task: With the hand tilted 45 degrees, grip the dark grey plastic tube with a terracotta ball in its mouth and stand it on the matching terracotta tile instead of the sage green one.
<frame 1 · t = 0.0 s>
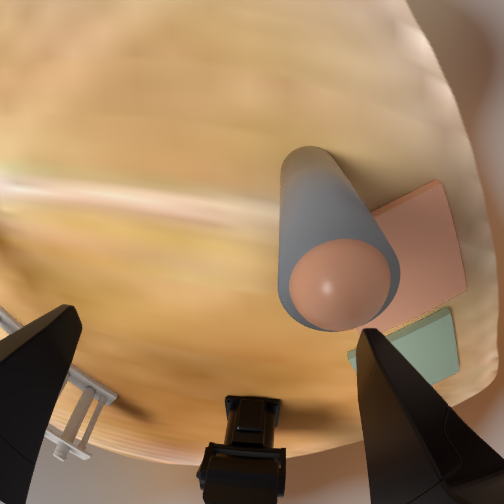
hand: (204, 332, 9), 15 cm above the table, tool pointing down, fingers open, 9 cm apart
terracotta tile: (398, 265, 24), on the table
test tube rack: (44, 349, 36), on the table
tube: (309, 174, 21), on the table
sage tile: (409, 360, 29), on the table
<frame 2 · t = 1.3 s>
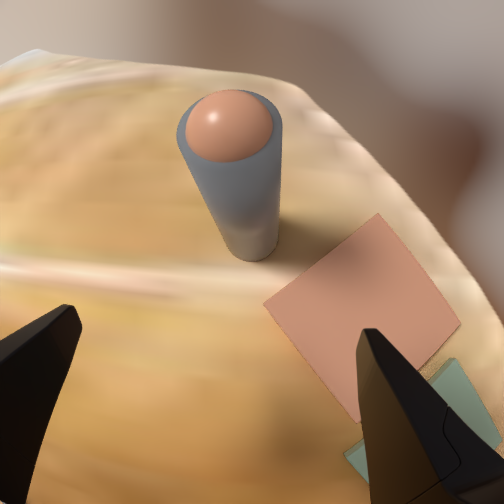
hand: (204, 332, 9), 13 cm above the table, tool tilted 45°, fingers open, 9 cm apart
terracotta tile: (368, 317, 21), on the table
tube: (251, 235, 23), on the table
sage tile: (431, 449, 18), on the table
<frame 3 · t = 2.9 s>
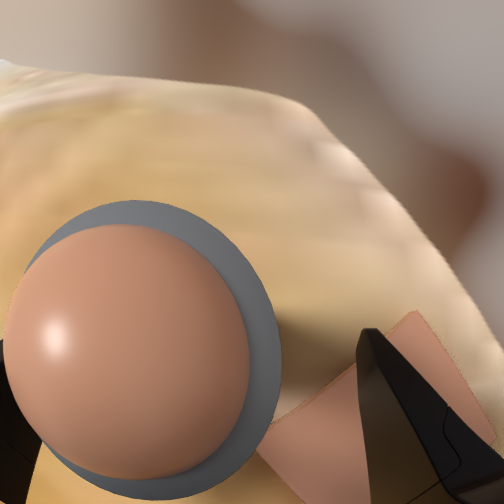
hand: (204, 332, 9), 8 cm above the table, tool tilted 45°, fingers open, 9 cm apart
terracotta tile: (389, 445, 14), on the table
tube: (235, 344, 16), on the table
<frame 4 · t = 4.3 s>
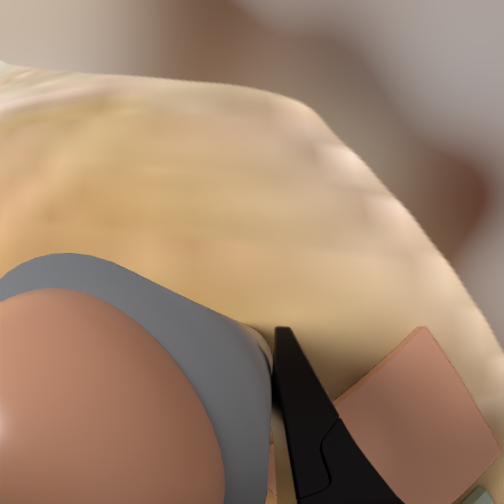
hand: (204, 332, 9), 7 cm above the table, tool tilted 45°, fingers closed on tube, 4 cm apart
terracotta tile: (392, 464, 12), on the table
tube: (232, 362, 15), on the table, touching gripper
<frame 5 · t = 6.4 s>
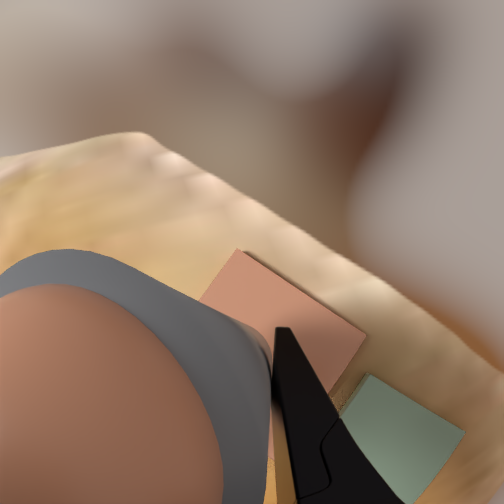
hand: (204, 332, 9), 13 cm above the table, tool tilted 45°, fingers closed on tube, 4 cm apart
terracotta tile: (256, 357, 21), on the table
tube: (231, 361, 15), point 7 cm above the table, touching gripper
sage tile: (377, 462, 18), on the table
when the fingers open (9 cm above the table, at t = 8.3 s): tube drops 1 cm, resting on terracotta tile.
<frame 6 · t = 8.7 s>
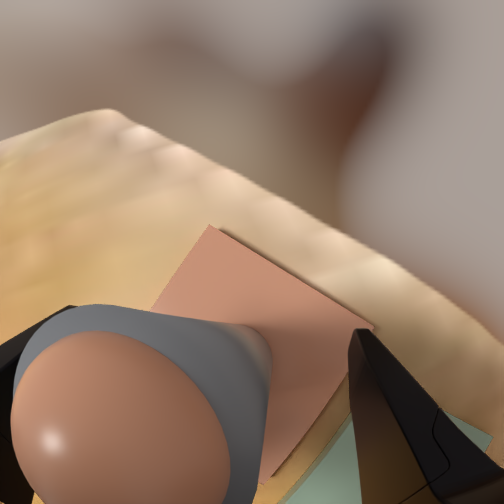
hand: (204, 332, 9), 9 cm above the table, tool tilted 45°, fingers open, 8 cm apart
terracotta tile: (236, 358, 17), on the table
tube: (234, 361, 16), point 1 cm above the table, touching terracotta tile
sage tile: (390, 480, 14), on the table
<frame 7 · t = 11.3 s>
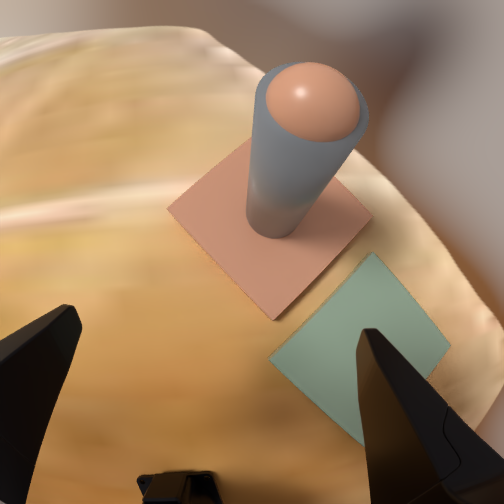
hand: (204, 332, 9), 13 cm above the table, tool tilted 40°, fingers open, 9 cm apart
terracotta tile: (272, 214, 23), on the table
tube: (273, 211, 22), point 1 cm above the table, touching terracotta tile
sage tile: (367, 353, 22), on the table
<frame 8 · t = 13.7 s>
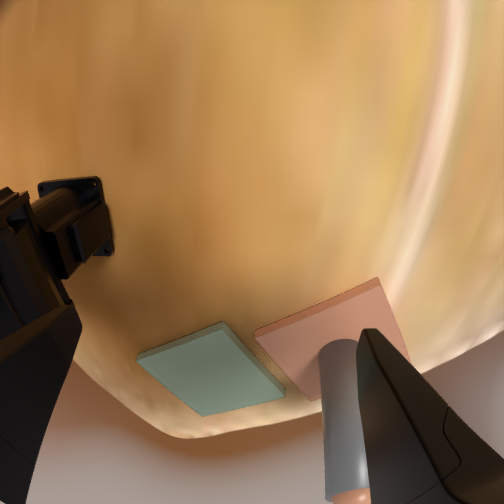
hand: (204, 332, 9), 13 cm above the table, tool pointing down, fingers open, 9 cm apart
terracotta tile: (339, 346, 26), on the table
tube: (340, 354, 25), point 1 cm above the table, touching terracotta tile
sage tile: (211, 374, 30), on the table
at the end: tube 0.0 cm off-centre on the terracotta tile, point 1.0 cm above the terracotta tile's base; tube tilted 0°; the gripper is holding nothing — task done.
